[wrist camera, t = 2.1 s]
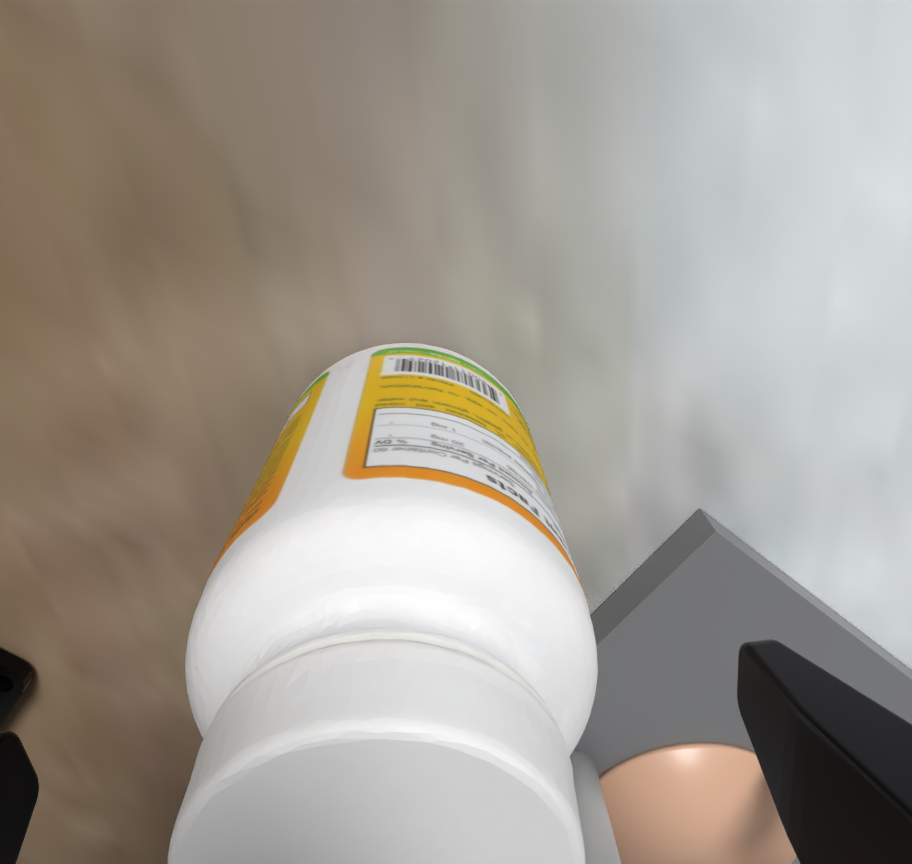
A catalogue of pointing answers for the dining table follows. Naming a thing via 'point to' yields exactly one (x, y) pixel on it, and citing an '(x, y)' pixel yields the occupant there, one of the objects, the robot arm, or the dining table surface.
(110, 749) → the dining table surface
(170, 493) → the dining table surface
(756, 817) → the pin tray
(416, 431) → the supplement bottle
